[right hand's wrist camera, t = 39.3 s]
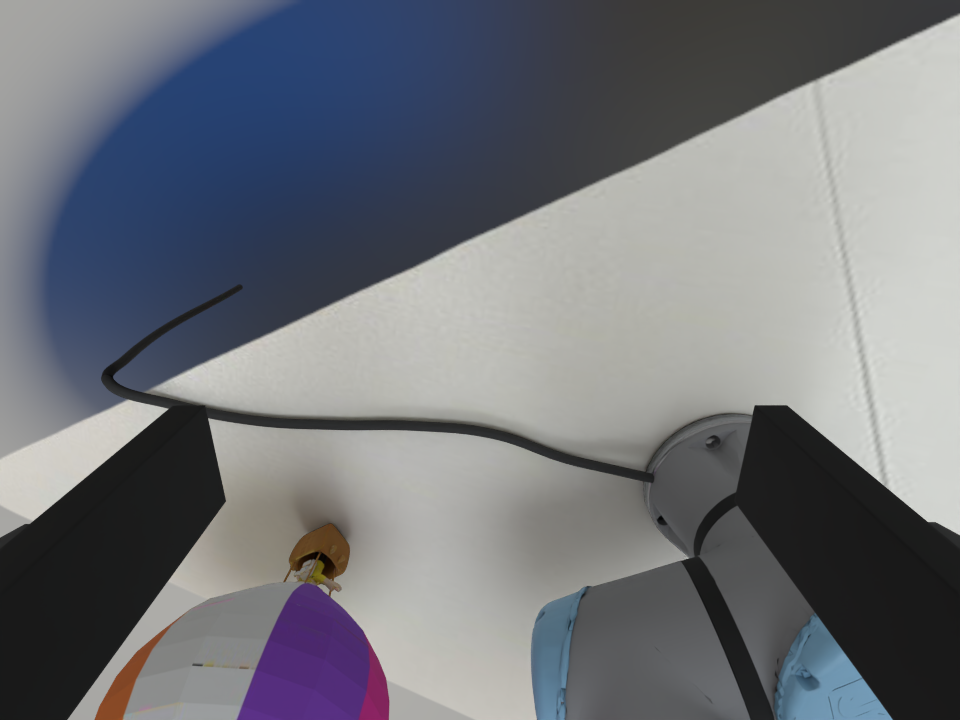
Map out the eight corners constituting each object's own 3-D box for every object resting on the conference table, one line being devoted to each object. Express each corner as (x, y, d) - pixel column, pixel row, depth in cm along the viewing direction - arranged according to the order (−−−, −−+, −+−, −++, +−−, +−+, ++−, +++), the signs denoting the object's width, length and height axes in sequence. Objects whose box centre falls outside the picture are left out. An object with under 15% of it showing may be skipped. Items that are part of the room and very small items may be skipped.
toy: (352, 427, 50) (194, 771, 22) (454, 567, 57) (428, 970, 29) (193, 508, 54) (-114, 892, 26) (305, 631, 60) (155, 1046, 32)
